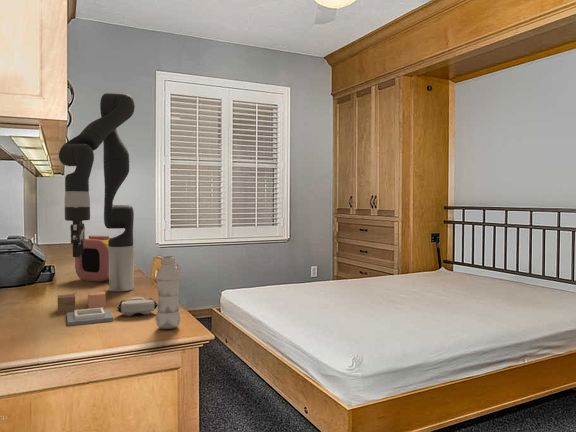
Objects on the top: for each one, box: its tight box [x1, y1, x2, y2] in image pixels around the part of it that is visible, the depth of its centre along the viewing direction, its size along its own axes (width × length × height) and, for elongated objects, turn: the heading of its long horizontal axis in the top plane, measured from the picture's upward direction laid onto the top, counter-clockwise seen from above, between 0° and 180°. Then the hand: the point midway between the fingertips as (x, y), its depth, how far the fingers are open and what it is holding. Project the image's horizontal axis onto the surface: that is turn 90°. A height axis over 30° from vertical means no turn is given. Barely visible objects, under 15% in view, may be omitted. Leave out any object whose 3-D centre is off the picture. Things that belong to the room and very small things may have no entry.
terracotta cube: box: [87, 290, 107, 309], centre depth 152 cm, size 5×5×5 cm
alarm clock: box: [74, 234, 111, 283], centre depth 203 cm, size 18×11×19 cm, turn 67°
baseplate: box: [66, 308, 114, 327], centre depth 139 cm, size 12×12×2 cm
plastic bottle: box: [155, 255, 182, 330], centre depth 129 cm, size 6×7×20 cm
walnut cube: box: [57, 293, 76, 315], centre depth 148 cm, size 5×5×5 cm
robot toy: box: [116, 296, 158, 317], centre depth 147 cm, size 12×4×15 cm
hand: (78, 255), depth 150 cm, fingers open, 8 cm apart
